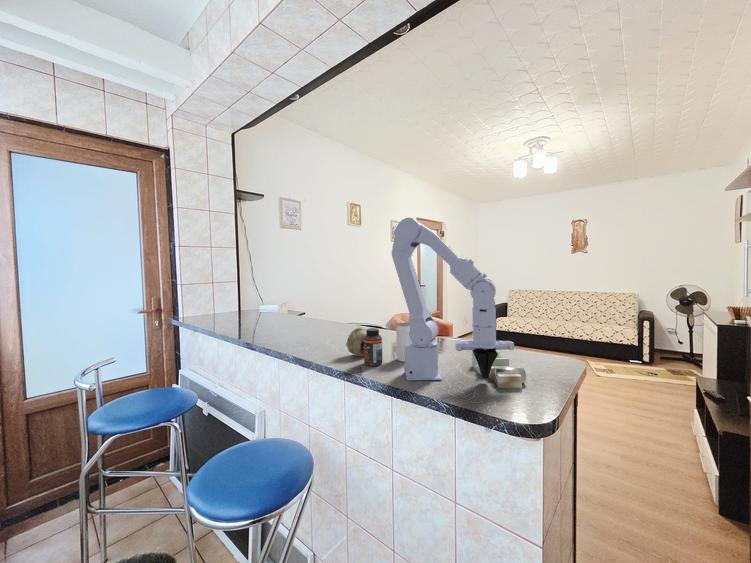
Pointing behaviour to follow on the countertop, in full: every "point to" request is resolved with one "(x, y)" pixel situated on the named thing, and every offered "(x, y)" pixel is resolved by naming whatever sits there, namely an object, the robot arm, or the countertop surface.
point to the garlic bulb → (356, 342)
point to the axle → (509, 372)
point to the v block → (498, 362)
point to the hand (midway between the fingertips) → (484, 377)
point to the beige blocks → (507, 379)
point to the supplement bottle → (373, 347)
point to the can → (402, 340)
